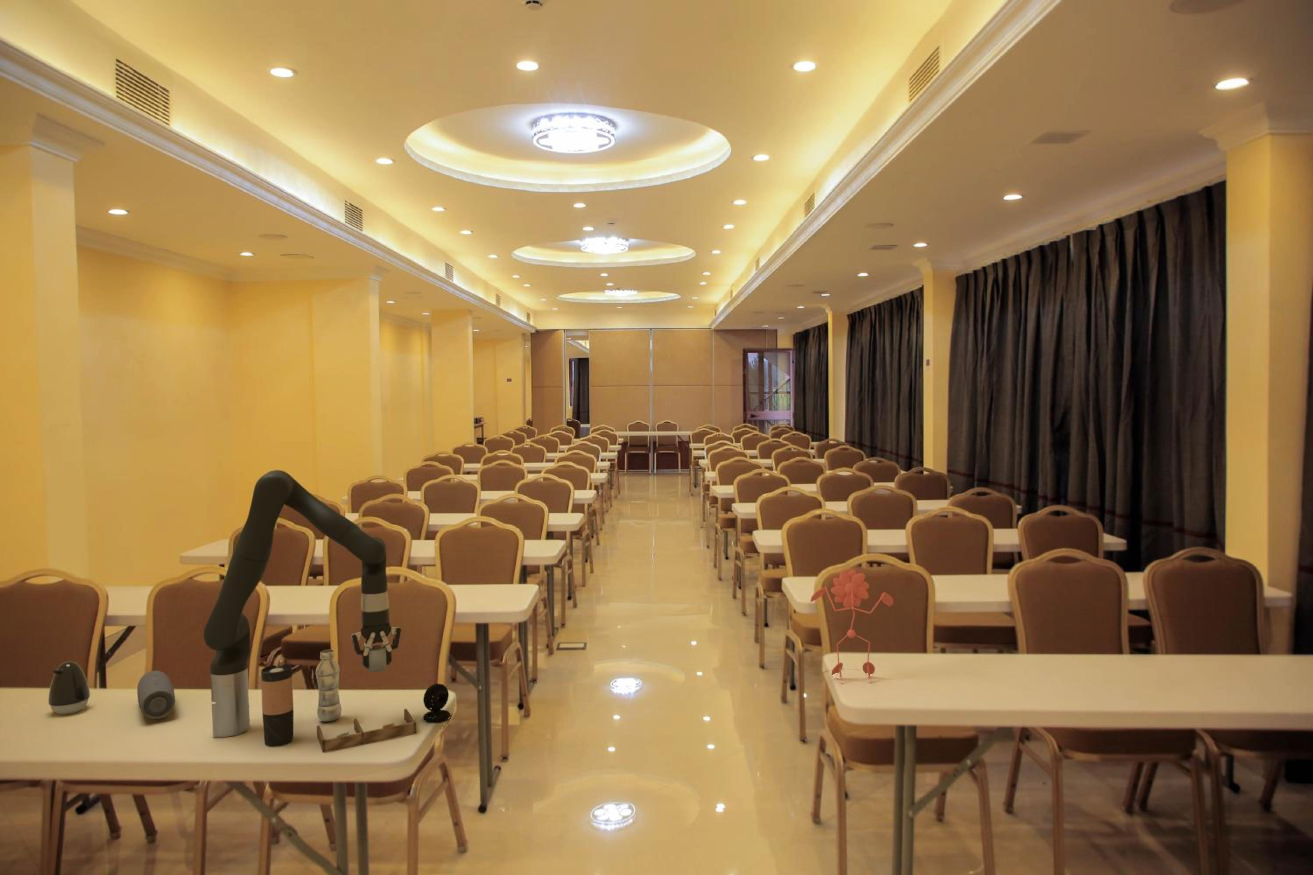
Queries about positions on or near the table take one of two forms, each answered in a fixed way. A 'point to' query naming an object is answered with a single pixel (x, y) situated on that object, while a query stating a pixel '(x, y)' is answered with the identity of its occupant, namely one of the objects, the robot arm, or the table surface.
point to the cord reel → (377, 658)
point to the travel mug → (277, 705)
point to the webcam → (436, 703)
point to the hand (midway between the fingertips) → (377, 665)
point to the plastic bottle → (328, 687)
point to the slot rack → (367, 734)
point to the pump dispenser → (68, 689)
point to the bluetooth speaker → (155, 695)
